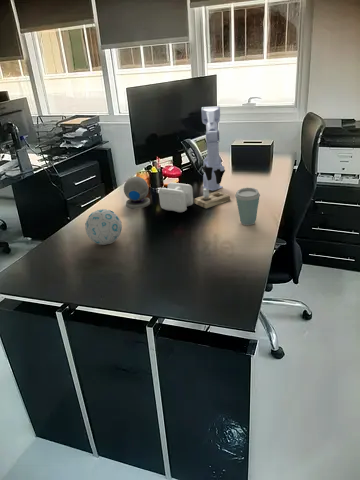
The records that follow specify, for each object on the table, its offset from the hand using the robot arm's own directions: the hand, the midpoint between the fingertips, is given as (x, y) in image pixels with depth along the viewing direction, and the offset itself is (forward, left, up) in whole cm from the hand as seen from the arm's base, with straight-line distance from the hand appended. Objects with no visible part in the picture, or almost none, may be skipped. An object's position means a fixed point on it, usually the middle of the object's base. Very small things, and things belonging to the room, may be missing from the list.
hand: (214, 181), depth 185 cm
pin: (0, -6, -10) cm, 12 cm away
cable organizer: (-6, -20, -11) cm, 23 cm away
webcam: (-26, -32, -11) cm, 42 cm away
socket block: (0, -2, -10) cm, 11 cm away
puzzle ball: (+4, -64, -11) cm, 65 cm away
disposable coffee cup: (+31, -7, -11) cm, 34 cm away
